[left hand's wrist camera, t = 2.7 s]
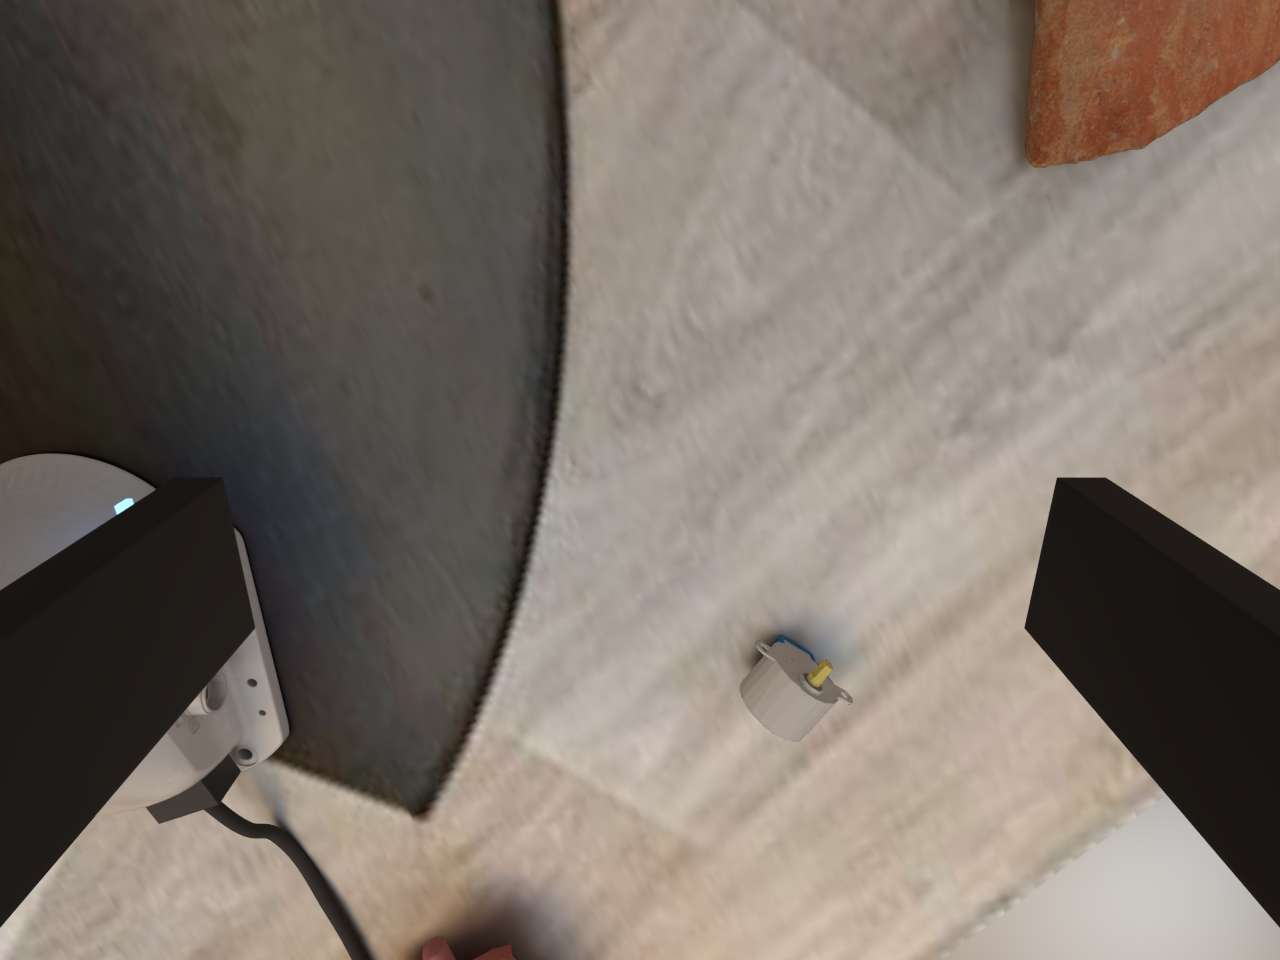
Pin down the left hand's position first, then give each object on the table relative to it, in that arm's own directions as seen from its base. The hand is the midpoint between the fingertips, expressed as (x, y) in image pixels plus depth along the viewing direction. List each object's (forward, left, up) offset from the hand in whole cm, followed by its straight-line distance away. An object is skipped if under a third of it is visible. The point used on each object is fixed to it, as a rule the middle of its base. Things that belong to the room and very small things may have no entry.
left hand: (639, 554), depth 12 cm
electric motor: (+21, +9, -28) cm, 36 cm away
